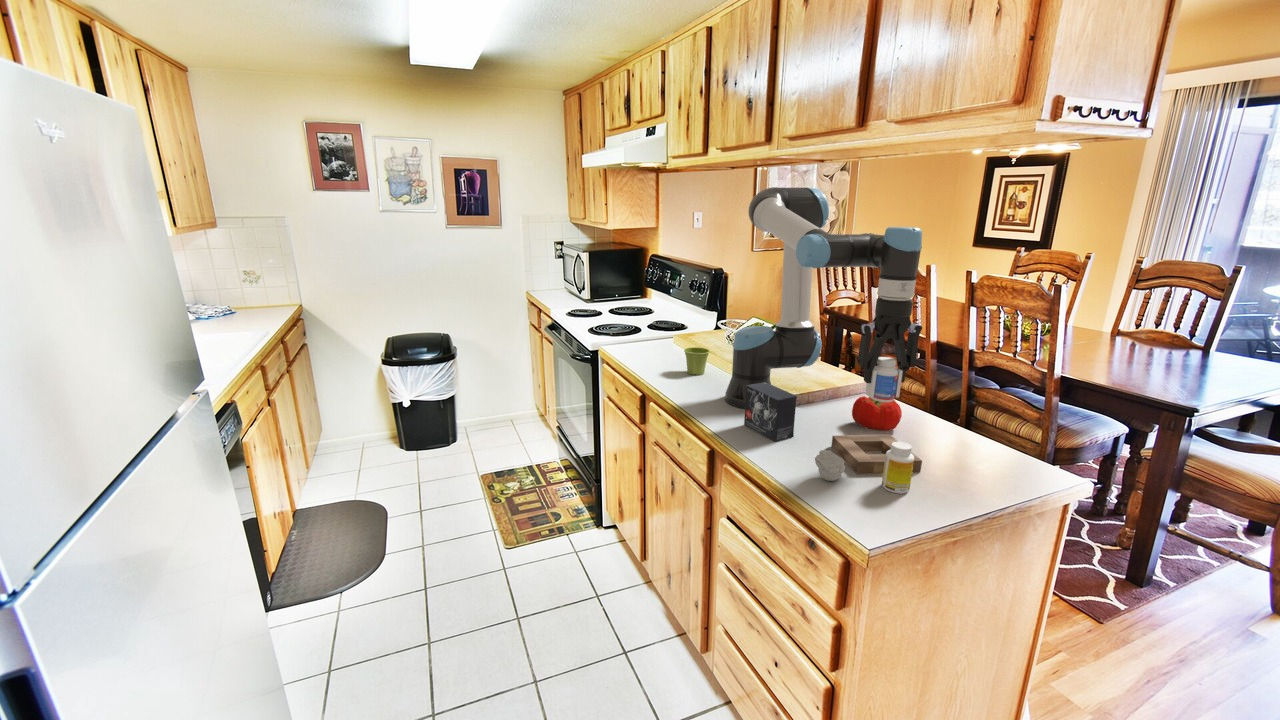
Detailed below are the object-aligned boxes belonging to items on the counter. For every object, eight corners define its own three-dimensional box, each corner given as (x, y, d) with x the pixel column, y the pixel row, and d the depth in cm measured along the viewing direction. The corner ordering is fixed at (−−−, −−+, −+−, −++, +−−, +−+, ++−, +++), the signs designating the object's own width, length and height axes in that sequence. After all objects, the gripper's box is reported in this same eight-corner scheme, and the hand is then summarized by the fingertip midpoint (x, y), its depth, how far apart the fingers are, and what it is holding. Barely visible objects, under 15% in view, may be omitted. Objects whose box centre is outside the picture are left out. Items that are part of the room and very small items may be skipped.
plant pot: (695, 367, 208) (696, 345, 206) (714, 373, 201) (715, 350, 199) (677, 372, 202) (678, 349, 200) (696, 378, 195) (697, 354, 193)
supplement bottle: (914, 494, 117) (921, 450, 114) (889, 495, 116) (895, 451, 114) (901, 482, 122) (907, 439, 119) (876, 482, 122) (882, 440, 119)
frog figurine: (806, 475, 125) (809, 446, 123) (834, 471, 127) (837, 444, 125) (821, 487, 119) (824, 458, 117) (849, 484, 121) (853, 455, 119)
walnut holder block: (831, 446, 140) (832, 435, 139) (888, 445, 141) (889, 434, 140) (857, 473, 126) (858, 462, 125) (920, 472, 127) (922, 460, 126)
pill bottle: (896, 403, 126) (902, 362, 123) (872, 401, 127) (877, 361, 124) (891, 395, 131) (896, 356, 128) (867, 394, 132) (872, 355, 129)
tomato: (903, 424, 155) (907, 396, 152) (894, 439, 145) (899, 409, 142) (856, 415, 162) (859, 388, 159) (845, 428, 152) (848, 399, 149)
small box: (742, 425, 153) (745, 384, 150) (761, 421, 156) (764, 381, 153) (774, 442, 142) (777, 399, 139) (794, 437, 145) (798, 395, 142)
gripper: (862, 300, 118) (850, 401, 125) (944, 300, 120) (928, 400, 126) (847, 295, 126) (837, 390, 132) (925, 295, 127) (911, 390, 133)
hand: (881, 395), depth 129 cm, fingers closed on pill bottle, 5 cm apart
